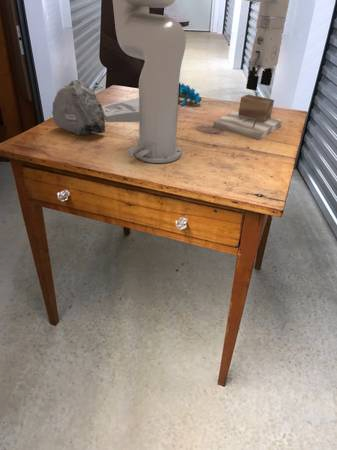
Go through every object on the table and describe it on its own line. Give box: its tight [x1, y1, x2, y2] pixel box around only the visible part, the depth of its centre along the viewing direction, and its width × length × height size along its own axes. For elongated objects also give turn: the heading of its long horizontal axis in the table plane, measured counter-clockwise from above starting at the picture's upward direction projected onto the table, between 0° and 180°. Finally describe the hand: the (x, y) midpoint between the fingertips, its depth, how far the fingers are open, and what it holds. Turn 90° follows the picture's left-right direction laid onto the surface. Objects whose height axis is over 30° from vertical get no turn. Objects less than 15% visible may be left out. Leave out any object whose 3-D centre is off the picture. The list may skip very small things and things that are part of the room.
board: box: [212, 109, 283, 141], centre depth 114 cm, size 16×16×2 cm
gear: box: [179, 83, 203, 106], centre depth 132 cm, size 11×6×10 cm
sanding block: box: [238, 94, 275, 123], centre depth 115 cm, size 5×9×6 cm, turn 53°
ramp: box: [101, 97, 139, 123], centre depth 118 cm, size 28×16×5 cm, turn 77°
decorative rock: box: [51, 79, 106, 136], centre depth 100 cm, size 16×7×15 cm, turn 58°
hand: (258, 87), depth 111 cm, fingers open, 9 cm apart
